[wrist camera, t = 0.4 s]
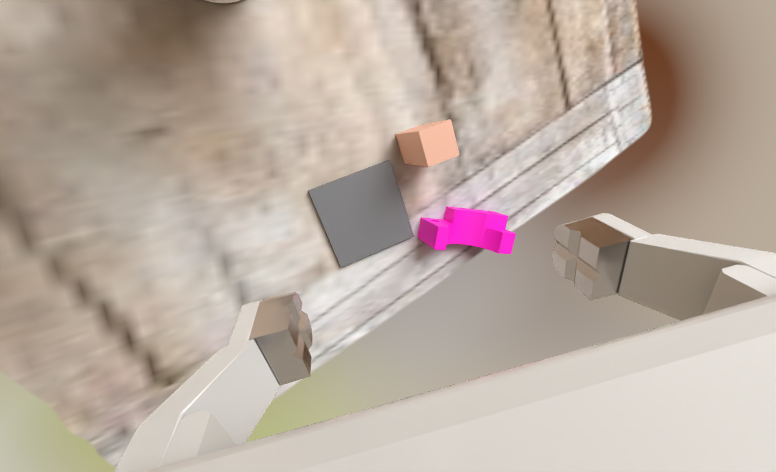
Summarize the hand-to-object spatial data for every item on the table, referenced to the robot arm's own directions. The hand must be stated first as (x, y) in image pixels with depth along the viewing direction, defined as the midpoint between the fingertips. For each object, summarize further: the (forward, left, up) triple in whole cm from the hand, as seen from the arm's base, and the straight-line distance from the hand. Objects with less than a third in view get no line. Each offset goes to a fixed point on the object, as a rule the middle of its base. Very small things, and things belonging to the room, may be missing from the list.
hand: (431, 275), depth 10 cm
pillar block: (+1, +16, -43) cm, 46 cm away
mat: (+9, +4, -43) cm, 44 cm away
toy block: (+18, +20, -44) cm, 51 cm away
